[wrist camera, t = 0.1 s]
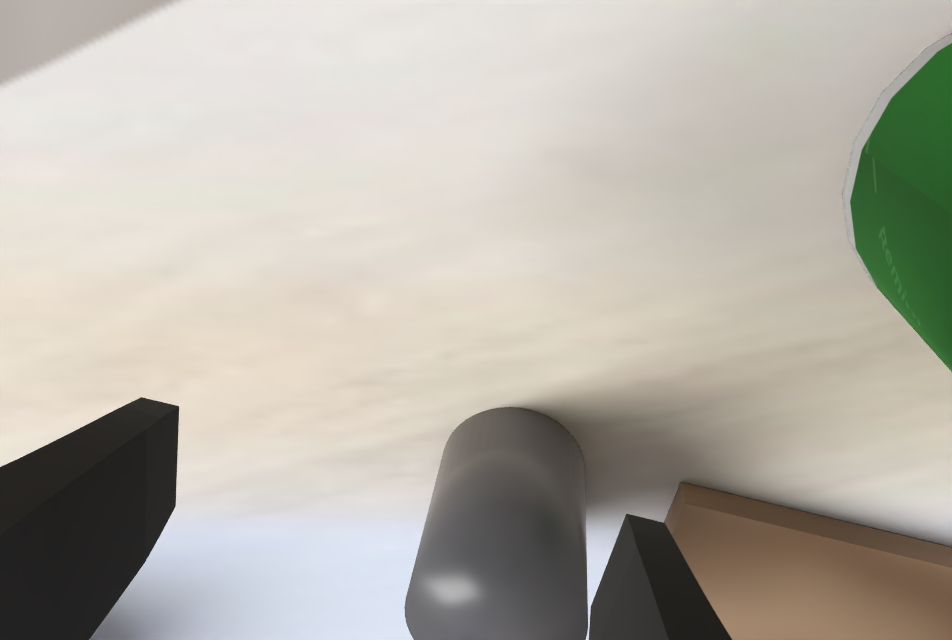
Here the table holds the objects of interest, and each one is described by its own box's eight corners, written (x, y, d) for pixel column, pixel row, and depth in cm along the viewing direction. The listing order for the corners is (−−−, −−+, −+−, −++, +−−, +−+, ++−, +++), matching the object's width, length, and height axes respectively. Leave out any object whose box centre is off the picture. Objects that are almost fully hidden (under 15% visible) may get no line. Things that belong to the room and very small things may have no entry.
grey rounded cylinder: (563, 537, 25) (561, 701, 19) (431, 505, 25) (391, 660, 19) (601, 427, 23) (610, 576, 17) (457, 392, 23) (421, 530, 17)
